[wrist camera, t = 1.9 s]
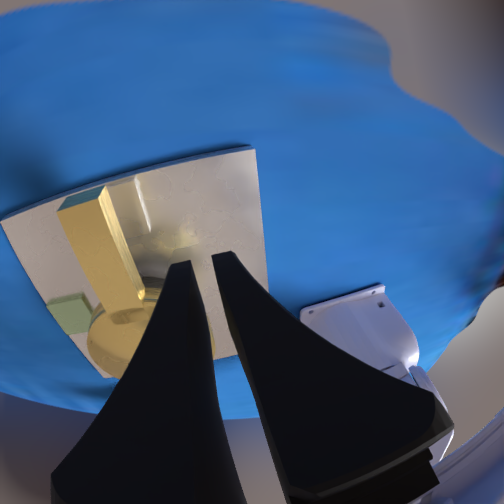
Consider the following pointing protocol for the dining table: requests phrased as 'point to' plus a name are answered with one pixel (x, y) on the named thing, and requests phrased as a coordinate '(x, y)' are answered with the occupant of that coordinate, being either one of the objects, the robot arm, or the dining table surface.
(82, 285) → the base plate
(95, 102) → the dining table surface
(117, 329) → the gold bar with disc
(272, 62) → the dining table surface
